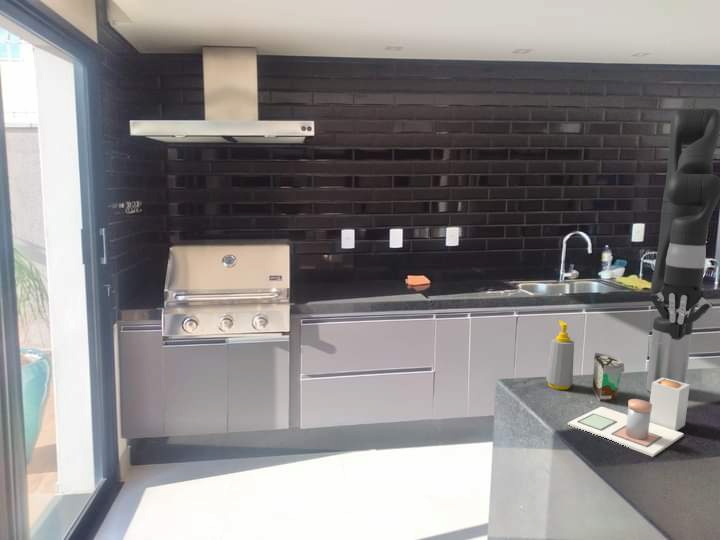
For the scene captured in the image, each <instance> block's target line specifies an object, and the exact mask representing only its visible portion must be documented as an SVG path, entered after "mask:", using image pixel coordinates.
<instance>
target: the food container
mask: <svg viewBox="0 0 720 540" xmlns="http://www.w3.org/2000/svg"><path fill="white" fill-rule="evenodd" d="M593 356H594V357H593V360H594V361H593V375H592V376H593V377H592V391H593V392H594V395H595V396H596V398H597V399H598V401H599V403H600V402H603V403H610V402H614V401H616V400H617V396H618V391H619V384H620V380H621V376H622V375H621V374H622V373H624V372H625V366H624V362H623V360H622V359H621V358H619V357H616V356H614V355H611V354H606V353H599V352H594V355H593Z"/></svg>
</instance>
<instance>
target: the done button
mask: <svg viewBox="0 0 720 540" xmlns="http://www.w3.org/2000/svg"><path fill="white" fill-rule="evenodd" d="M661 384H663V385H666V386H670V387H674V388H677V389H678V388H680V387H681V384H679V383H677V382H674V381H668V380H664V381H661Z"/></svg>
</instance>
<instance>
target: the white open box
mask: <svg viewBox="0 0 720 540" xmlns="http://www.w3.org/2000/svg"><path fill="white" fill-rule="evenodd" d="M664 380H668V381H674V382H677V383H679V384H681V387H680V388H678V389H677V388H674V387H670V386H666V385H663V384H661V381H664ZM690 386H691V384H689V383H687V382H686V383H682V382H678V381H675V380H671V379H667V378H663V377H662V378H660V379H658V380H656V381H654V382H652V387H651V392H650V398H649V403H651V404H652V410H651V414H650V423H653V424H657V425H660V426H663V427H666V428H669V429H672V430H675V431H678V430H680V429H681V428H683V427H685V426H686V419H687V411H688V410H687V409H688V405H689V404H688V403H689V393H690Z"/></svg>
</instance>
